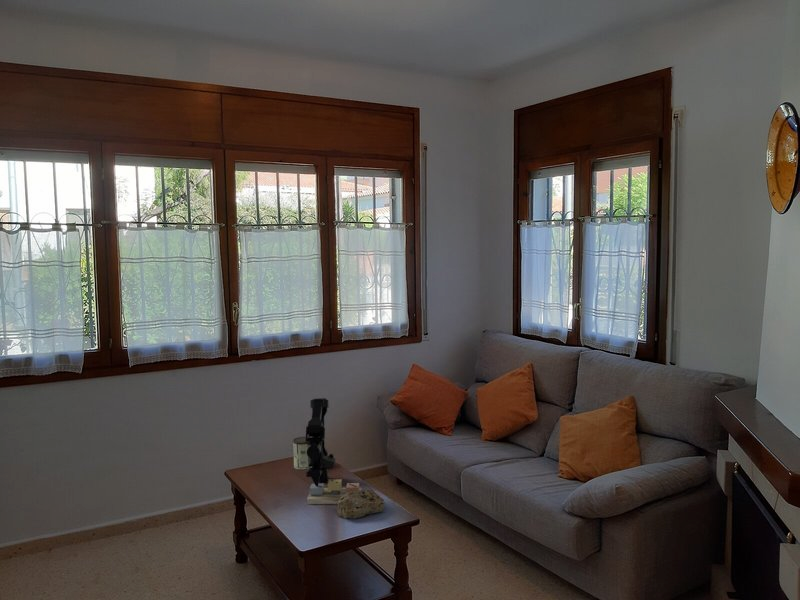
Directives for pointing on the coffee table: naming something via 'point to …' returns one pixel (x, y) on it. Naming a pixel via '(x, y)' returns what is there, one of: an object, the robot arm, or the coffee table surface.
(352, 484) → the pink cube
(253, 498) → the coffee table surface
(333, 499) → the keypad board
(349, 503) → the rock
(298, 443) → the coffee can
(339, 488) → the yellow cube
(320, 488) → the blue-grey cube
